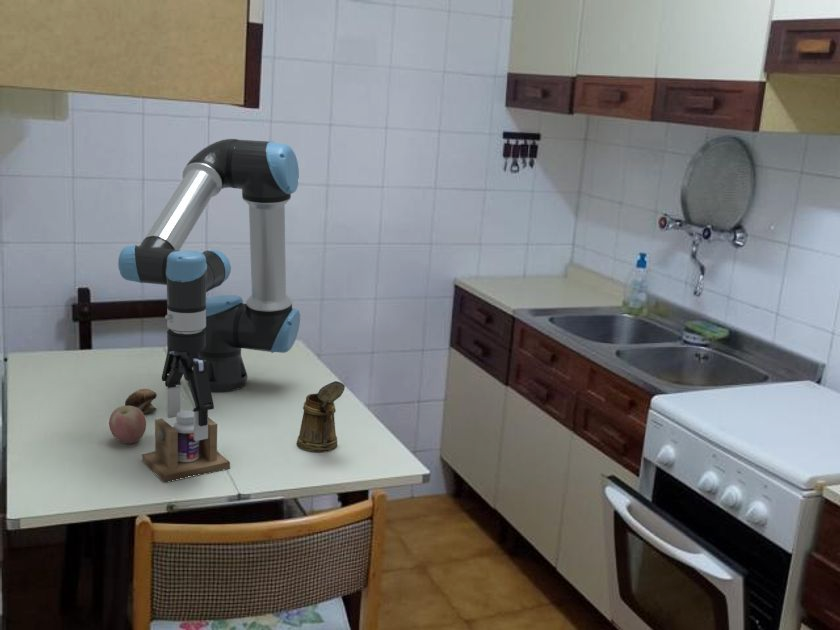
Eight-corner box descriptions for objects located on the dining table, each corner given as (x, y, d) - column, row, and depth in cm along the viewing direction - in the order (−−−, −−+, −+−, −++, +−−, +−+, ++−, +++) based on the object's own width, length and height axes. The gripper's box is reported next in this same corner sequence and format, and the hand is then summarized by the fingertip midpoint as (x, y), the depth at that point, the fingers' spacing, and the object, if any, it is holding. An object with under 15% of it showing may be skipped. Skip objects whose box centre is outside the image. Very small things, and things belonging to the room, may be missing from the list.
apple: (104, 438, 194) (103, 404, 192) (138, 432, 199) (138, 399, 197) (116, 451, 188) (116, 416, 186) (151, 445, 193) (151, 410, 191)
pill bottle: (192, 464, 181) (193, 420, 179) (168, 461, 182) (168, 416, 180) (204, 454, 186) (204, 411, 184) (180, 451, 187) (180, 407, 185)
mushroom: (168, 401, 210) (153, 379, 209) (140, 420, 205) (124, 398, 205) (158, 407, 216) (144, 385, 216) (131, 425, 212) (116, 404, 211)
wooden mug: (312, 463, 190) (315, 383, 185) (291, 439, 201) (294, 364, 197) (350, 457, 194) (355, 379, 189) (328, 435, 205) (331, 361, 201)
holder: (142, 460, 185) (141, 418, 182) (205, 448, 193) (205, 407, 191) (164, 482, 176) (164, 437, 173) (229, 468, 184) (230, 425, 182)
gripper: (144, 315, 184) (146, 410, 190) (195, 348, 166) (195, 453, 171) (179, 311, 189) (179, 404, 195) (231, 343, 170) (230, 445, 176)
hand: (186, 427), depth 183 cm, fingers open, 13 cm apart
